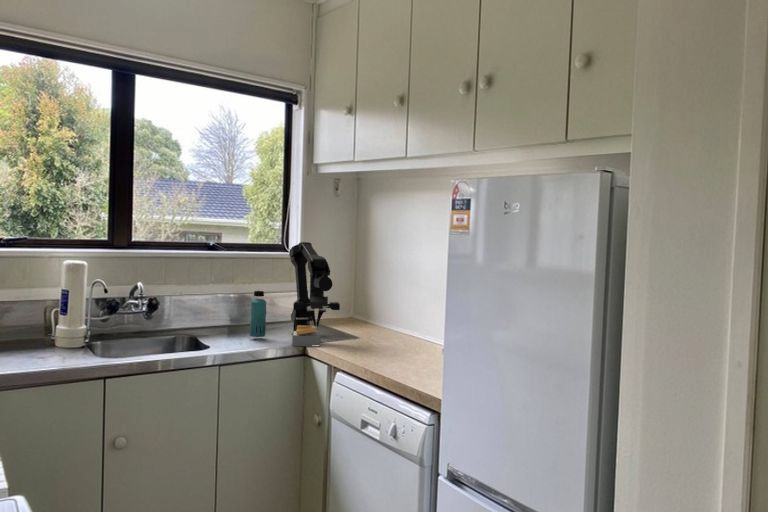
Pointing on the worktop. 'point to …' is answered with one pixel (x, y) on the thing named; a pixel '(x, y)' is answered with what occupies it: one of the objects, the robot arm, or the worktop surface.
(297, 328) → the rocker far
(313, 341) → the grey square bin
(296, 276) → the robot arm
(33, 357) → the worktop surface
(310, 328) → the rocker near
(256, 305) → the beverage bottle
